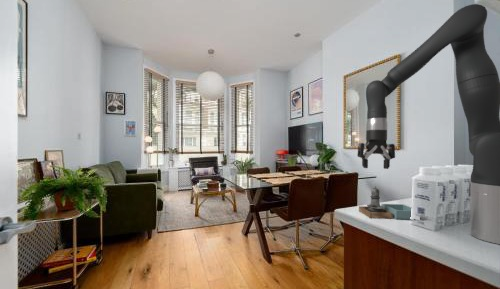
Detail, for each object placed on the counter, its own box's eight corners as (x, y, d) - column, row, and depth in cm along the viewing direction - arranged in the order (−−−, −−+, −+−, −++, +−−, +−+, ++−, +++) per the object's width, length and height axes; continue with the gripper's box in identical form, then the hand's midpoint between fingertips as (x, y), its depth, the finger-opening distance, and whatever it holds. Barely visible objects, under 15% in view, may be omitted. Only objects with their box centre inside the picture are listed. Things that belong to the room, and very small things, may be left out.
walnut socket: (379, 211, 91) (379, 206, 91) (392, 218, 82) (392, 213, 82) (358, 211, 91) (359, 206, 91) (370, 218, 82) (370, 212, 82)
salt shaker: (378, 213, 89) (379, 185, 89) (386, 217, 83) (386, 187, 83) (364, 212, 89) (364, 184, 90) (370, 216, 84) (371, 187, 84)
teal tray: (403, 212, 90) (403, 204, 90) (420, 220, 81) (421, 211, 81) (381, 212, 90) (381, 203, 90) (396, 219, 81) (396, 210, 81)
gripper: (364, 128, 83) (363, 168, 83) (400, 129, 83) (399, 169, 83) (355, 130, 91) (354, 167, 90) (387, 130, 90) (387, 168, 90)
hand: (375, 168), depth 86 cm, fingers open, 8 cm apart
